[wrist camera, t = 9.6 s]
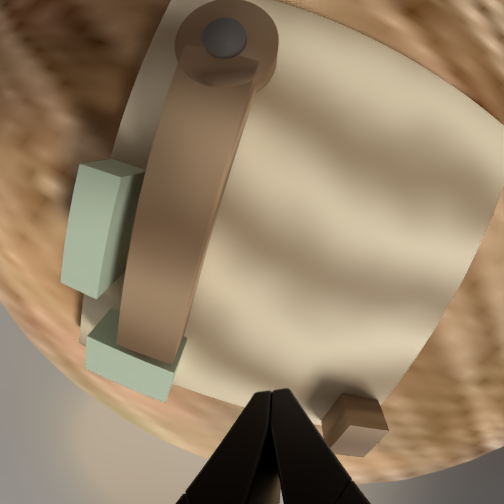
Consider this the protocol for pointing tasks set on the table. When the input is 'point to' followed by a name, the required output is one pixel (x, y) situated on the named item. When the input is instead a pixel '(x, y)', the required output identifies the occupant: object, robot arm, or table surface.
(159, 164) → the hinged leg
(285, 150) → the board
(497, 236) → the table surface
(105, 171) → the socket blocks
